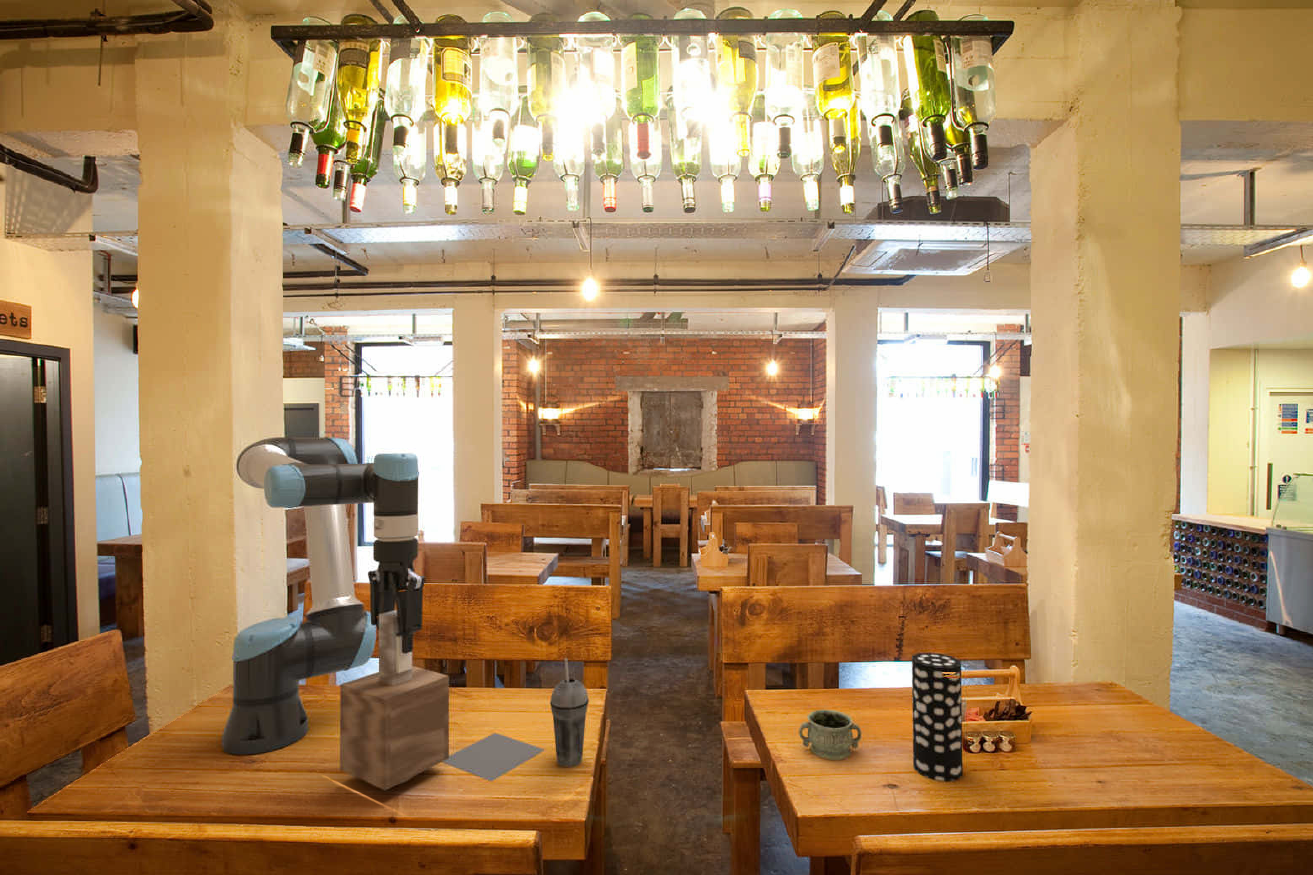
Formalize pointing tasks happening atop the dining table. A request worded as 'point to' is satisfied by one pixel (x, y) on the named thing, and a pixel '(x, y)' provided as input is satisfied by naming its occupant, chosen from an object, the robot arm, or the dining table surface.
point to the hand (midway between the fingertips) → (395, 667)
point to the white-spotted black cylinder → (937, 716)
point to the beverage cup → (569, 719)
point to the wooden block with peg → (393, 718)
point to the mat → (493, 756)
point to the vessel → (830, 734)
